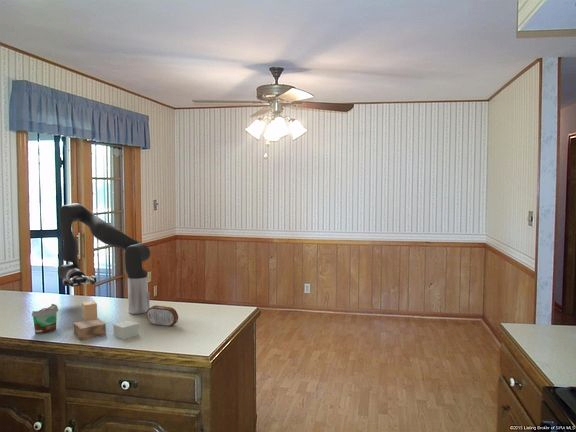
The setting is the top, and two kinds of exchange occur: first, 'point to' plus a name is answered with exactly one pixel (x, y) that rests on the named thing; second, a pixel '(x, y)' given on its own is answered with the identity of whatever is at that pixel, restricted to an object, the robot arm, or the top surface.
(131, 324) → the grey block
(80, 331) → the walnut block
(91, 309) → the ochre pillar
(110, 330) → the top surface
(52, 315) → the food container
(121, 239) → the robot arm
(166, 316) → the tin
